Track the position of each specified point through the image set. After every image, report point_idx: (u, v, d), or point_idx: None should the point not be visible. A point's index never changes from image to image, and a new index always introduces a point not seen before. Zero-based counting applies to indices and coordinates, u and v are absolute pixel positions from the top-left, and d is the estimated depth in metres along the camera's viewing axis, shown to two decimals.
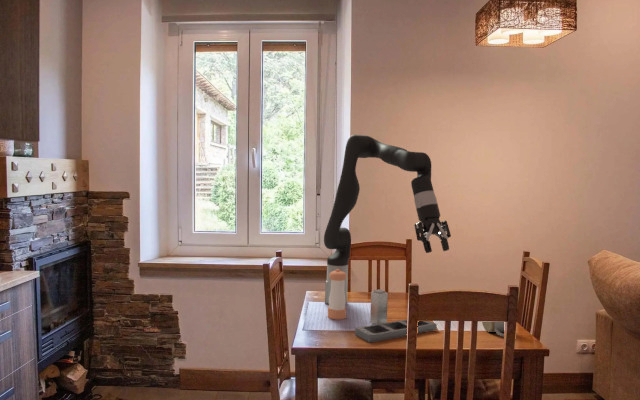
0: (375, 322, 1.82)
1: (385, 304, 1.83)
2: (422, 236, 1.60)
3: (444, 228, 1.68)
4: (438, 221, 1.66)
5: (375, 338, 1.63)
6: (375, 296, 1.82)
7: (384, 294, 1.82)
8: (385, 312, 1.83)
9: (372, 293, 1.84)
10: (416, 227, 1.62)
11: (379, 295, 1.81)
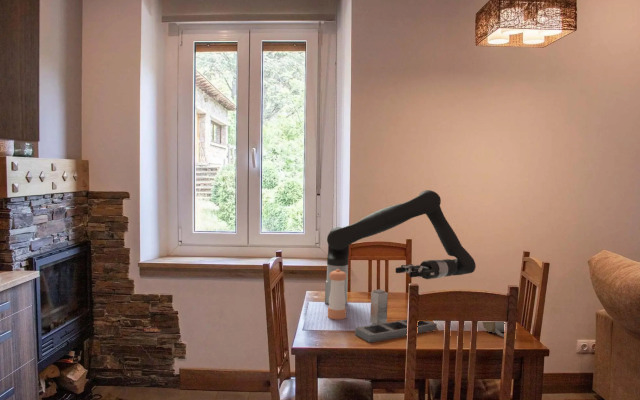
0: (375, 322, 1.82)
1: (385, 304, 1.83)
2: (424, 277, 1.85)
3: None
4: None
5: (375, 338, 1.63)
6: (375, 296, 1.82)
7: (384, 294, 1.82)
8: (385, 312, 1.83)
9: (372, 293, 1.84)
10: (432, 272, 1.87)
11: (379, 295, 1.81)
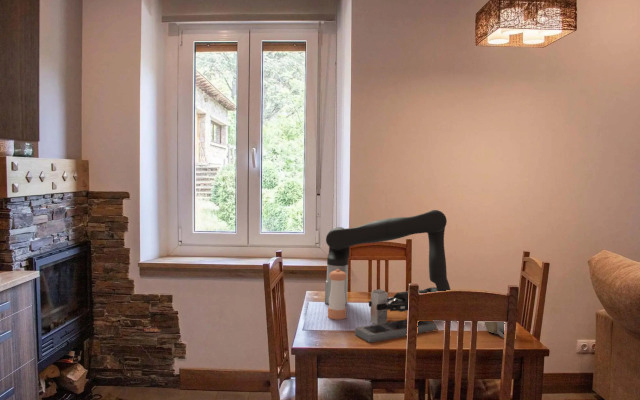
0: (375, 322, 1.82)
1: None
2: (392, 310, 1.81)
3: None
4: None
5: (375, 338, 1.63)
6: (375, 296, 1.82)
7: (384, 294, 1.82)
8: (385, 312, 1.83)
9: (372, 293, 1.84)
10: (401, 306, 1.81)
11: (379, 295, 1.81)
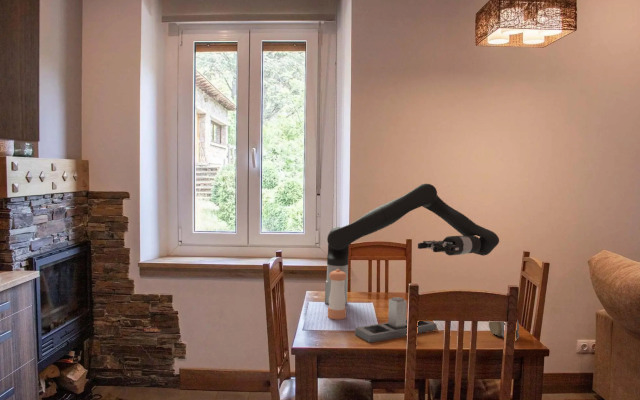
0: None
1: (404, 313, 1.72)
2: (449, 252, 1.78)
3: (430, 245, 1.90)
4: None
5: (375, 338, 1.63)
6: (393, 304, 1.71)
7: (403, 302, 1.71)
8: (404, 321, 1.72)
9: (390, 301, 1.73)
10: (456, 247, 1.79)
11: (398, 303, 1.70)
